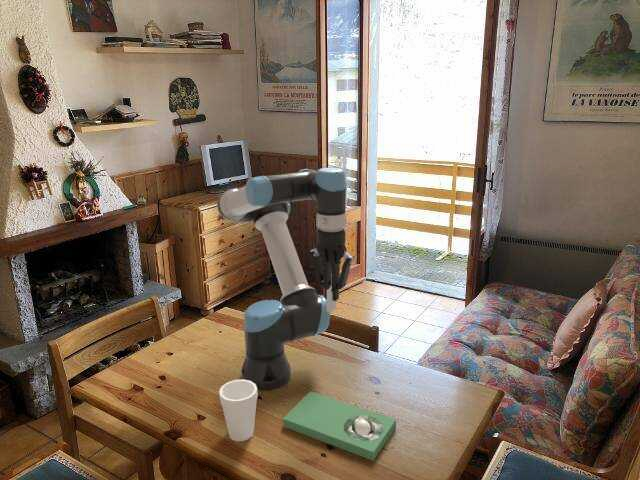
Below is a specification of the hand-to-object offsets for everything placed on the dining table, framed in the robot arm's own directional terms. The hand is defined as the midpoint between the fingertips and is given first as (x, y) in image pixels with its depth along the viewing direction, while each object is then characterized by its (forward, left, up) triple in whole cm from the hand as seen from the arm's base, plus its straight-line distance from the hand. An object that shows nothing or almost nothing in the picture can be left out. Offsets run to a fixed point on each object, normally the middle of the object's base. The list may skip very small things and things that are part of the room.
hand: (331, 310), depth 143 cm
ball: (+16, -12, -24) cm, 31 cm away
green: (+9, -13, -26) cm, 31 cm away
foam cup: (-12, -27, -27) cm, 40 cm away
